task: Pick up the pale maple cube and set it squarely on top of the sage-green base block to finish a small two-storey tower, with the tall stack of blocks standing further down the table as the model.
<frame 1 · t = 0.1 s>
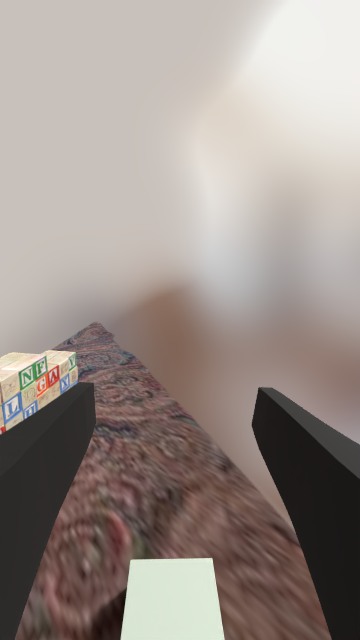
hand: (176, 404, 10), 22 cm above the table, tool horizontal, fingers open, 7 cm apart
stack of blocks: (29, 424, 38), on the table
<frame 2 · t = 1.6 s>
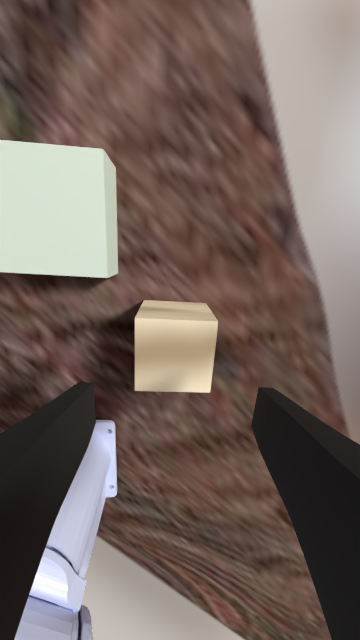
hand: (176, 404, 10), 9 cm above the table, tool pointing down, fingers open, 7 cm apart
base block: (67, 220, 16), on the table
maple cube: (173, 330, 19), on the table
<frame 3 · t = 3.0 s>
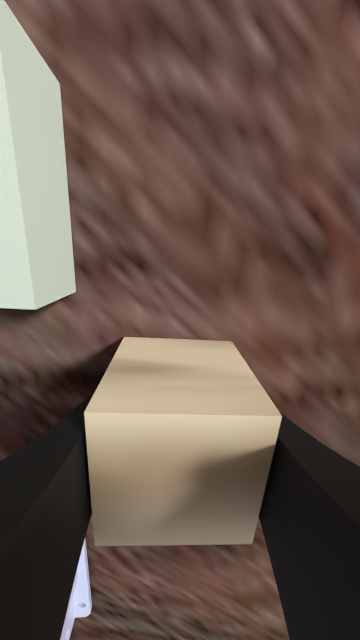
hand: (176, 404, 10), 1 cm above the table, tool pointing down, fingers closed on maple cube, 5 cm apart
maple cube: (175, 385, 11), on the table, touching gripper
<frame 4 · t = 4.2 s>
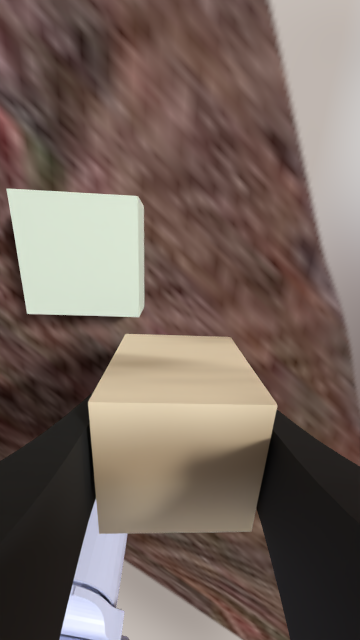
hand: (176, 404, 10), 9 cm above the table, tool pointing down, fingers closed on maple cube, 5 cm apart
base block: (95, 257, 16), on the table
maple cube: (176, 381, 11), point 7 cm above the table, touching gripper
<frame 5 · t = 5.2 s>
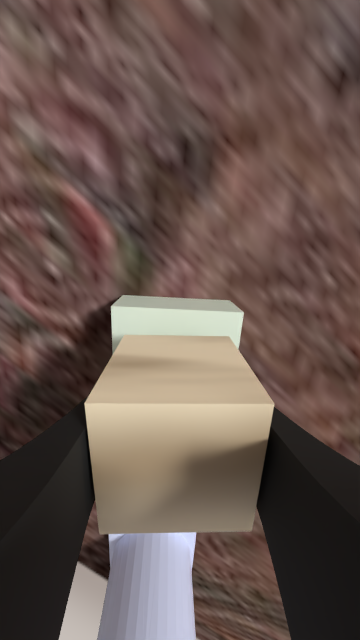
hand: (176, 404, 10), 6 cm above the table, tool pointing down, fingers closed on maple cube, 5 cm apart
base block: (174, 347, 16), on the table
maple cube: (176, 381, 11), point 4 cm above the table, touching gripper
when the fingers open (6 cm above the table, at t = 5.7 s): maple cube drops 1 cm, resting on base block.
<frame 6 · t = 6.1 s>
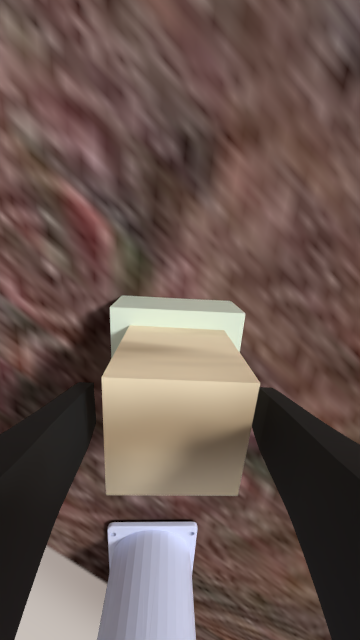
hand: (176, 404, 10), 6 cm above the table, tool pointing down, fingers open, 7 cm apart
base block: (174, 348, 15), on the table
maple cube: (174, 369, 13), point 3 cm above the table, touching base block
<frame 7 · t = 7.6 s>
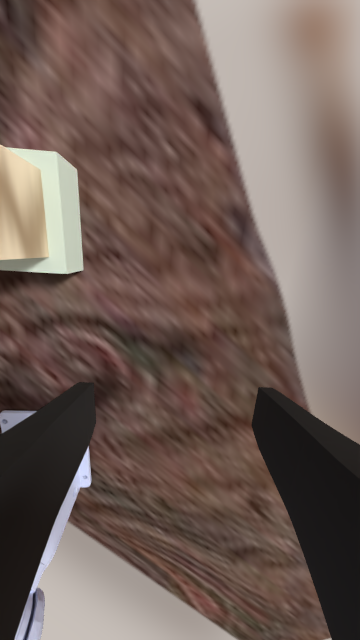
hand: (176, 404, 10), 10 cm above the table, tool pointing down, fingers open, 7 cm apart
base block: (32, 219, 17), on the table
maple cube: (3, 212, 14), point 3 cm above the table, touching base block
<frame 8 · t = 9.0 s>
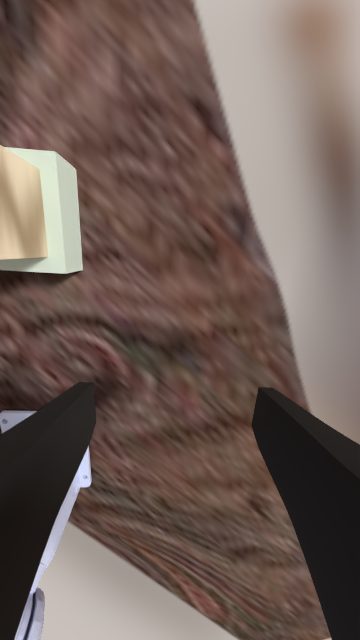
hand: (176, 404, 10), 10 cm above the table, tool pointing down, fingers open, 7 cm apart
base block: (31, 219, 17), on the table
maple cube: (2, 212, 14), point 3 cm above the table, touching base block
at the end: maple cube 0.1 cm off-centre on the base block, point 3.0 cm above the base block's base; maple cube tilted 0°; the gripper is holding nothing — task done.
